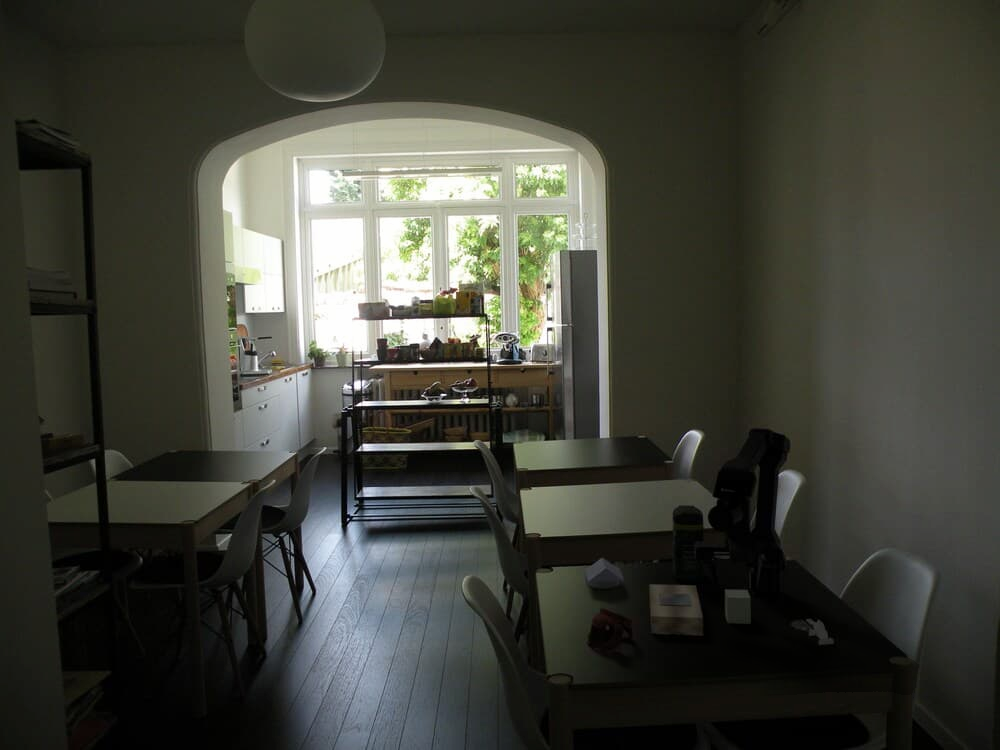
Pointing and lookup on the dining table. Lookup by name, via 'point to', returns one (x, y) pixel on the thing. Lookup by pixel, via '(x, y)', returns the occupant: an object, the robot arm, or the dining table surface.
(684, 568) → the coffee jar
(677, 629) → the birch base
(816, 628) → the grey curved piece
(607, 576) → the wedge on round base
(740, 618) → the sage block
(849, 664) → the dining table surface
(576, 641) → the dining table surface
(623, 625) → the pottery mug
